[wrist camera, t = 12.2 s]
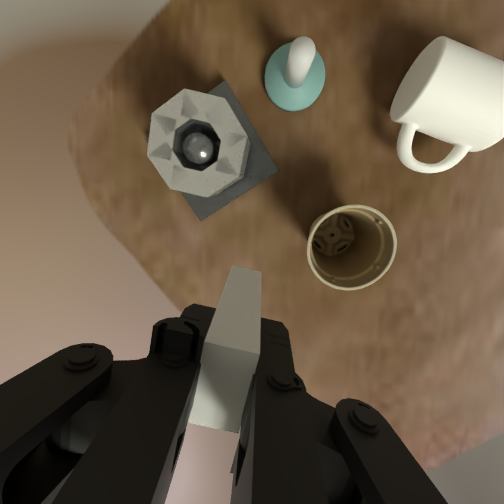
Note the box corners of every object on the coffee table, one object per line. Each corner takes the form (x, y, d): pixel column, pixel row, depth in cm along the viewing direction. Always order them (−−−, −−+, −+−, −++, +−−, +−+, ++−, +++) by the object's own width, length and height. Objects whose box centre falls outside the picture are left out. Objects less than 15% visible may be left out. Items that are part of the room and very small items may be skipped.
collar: (176, 100, 30) (155, 81, 24) (255, 119, 30) (253, 105, 24) (165, 182, 32) (143, 182, 27) (238, 199, 33) (233, 203, 27)
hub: (227, 84, 33) (213, 48, 24) (278, 171, 35) (282, 168, 26) (150, 141, 35) (111, 128, 26) (203, 219, 37) (183, 232, 28)
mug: (411, 56, 32) (459, 16, 24) (488, 88, 32) (559, 59, 24) (365, 158, 35) (394, 152, 27) (436, 186, 35) (484, 188, 28)
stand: (305, 32, 31) (317, -12, 24) (333, 89, 33) (353, 63, 25) (253, 70, 33) (250, 38, 25) (283, 123, 34) (288, 108, 27)
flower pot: (319, 185, 36) (337, 188, 27) (380, 219, 36) (415, 230, 28) (285, 247, 38) (291, 266, 30) (342, 277, 39) (364, 304, 30)
